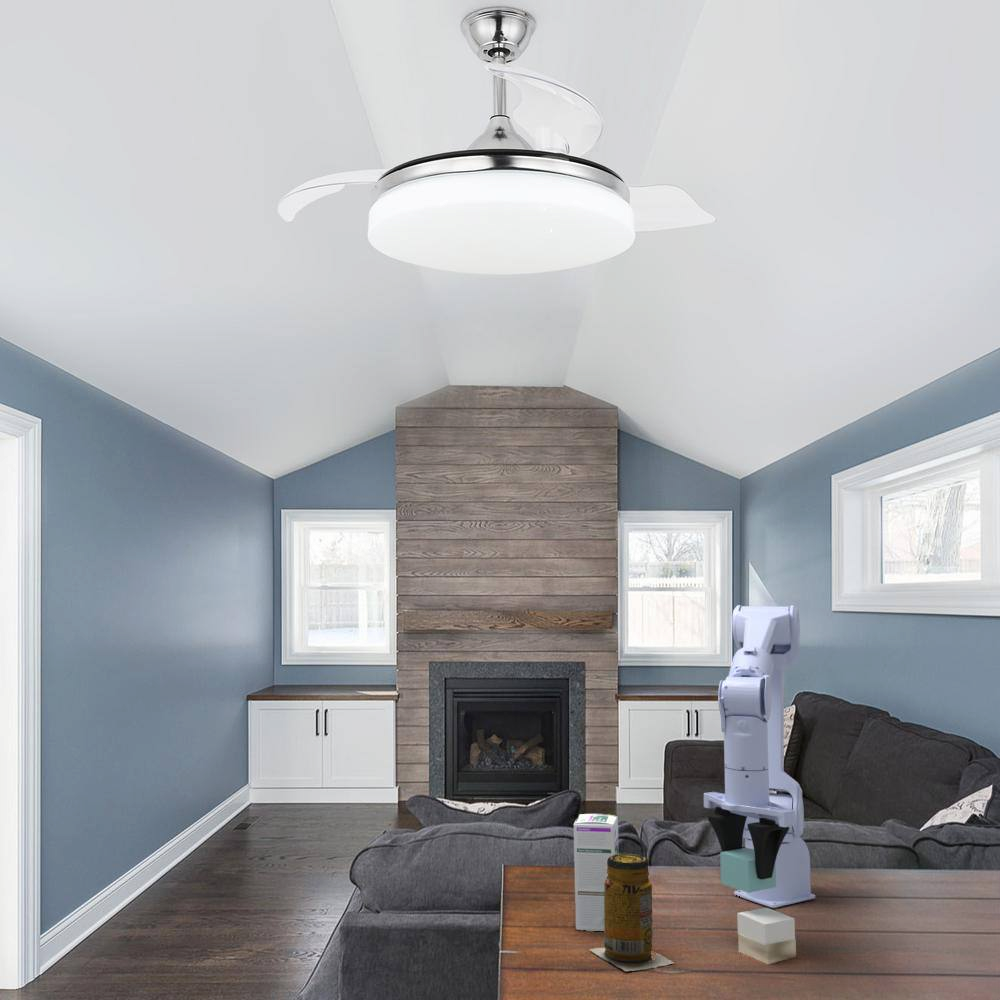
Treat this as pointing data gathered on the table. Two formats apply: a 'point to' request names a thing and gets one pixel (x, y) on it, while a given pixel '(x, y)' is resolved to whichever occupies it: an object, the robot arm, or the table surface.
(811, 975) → the table surface
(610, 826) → the syrup box
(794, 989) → the table surface
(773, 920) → the white brick
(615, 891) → the condiment
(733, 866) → the teal brick
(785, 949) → the maple brick
